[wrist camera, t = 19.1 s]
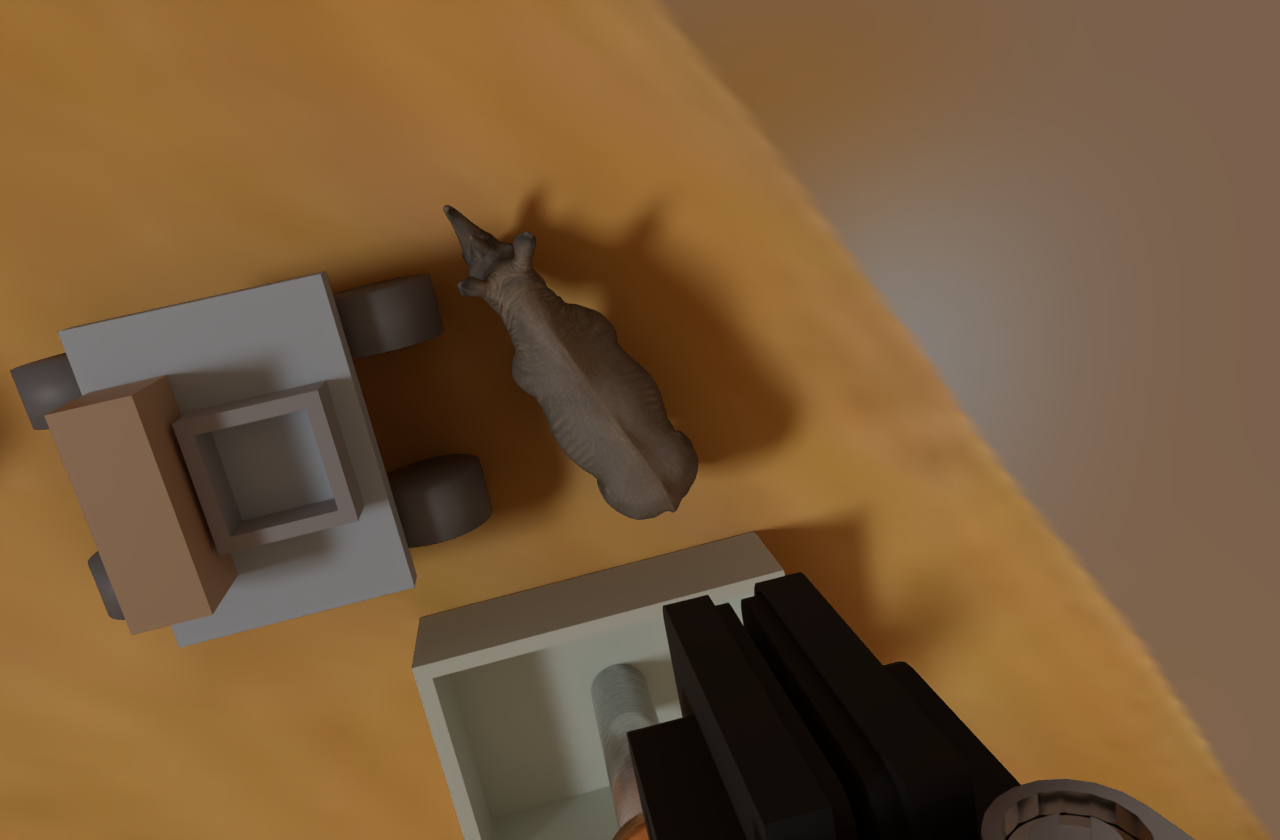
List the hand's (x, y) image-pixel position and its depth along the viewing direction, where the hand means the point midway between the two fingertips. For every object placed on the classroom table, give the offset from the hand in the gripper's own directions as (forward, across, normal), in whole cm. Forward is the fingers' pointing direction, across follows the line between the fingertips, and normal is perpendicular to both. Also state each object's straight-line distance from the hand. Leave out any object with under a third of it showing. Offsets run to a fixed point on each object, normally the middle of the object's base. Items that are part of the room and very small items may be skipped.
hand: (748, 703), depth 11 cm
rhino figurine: (+26, 0, 0) cm, 27 cm away
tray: (+26, 0, +14) cm, 30 cm away
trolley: (+26, +11, +1) cm, 28 cm away
